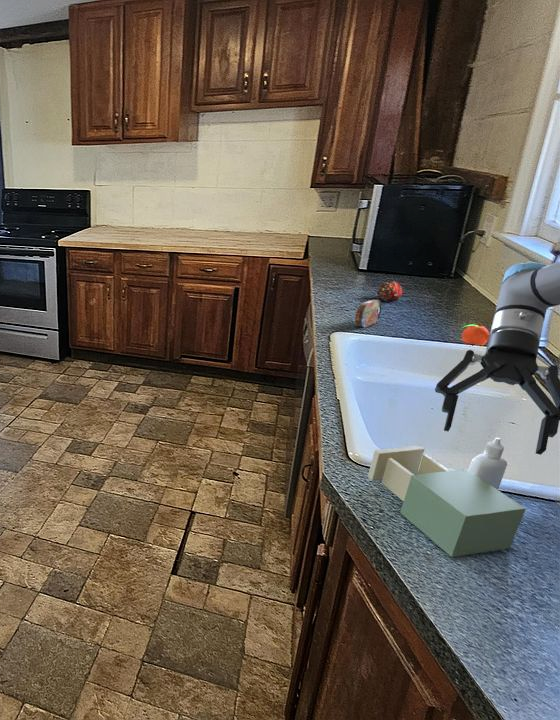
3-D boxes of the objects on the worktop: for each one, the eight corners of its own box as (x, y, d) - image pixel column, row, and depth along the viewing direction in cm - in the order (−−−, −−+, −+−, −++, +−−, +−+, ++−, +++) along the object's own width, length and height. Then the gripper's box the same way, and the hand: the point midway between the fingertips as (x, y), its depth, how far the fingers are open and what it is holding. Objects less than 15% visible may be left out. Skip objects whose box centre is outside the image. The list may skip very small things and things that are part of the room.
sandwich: (360, 329, 180) (365, 306, 177) (351, 327, 183) (356, 304, 179) (379, 321, 189) (384, 298, 186) (370, 319, 192) (375, 296, 188)
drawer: (363, 473, 100) (370, 446, 97) (407, 468, 101) (414, 442, 99) (405, 509, 90) (414, 480, 88) (453, 503, 92) (463, 474, 89)
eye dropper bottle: (455, 485, 98) (474, 429, 93) (491, 492, 96) (512, 435, 91) (462, 499, 94) (482, 441, 89) (499, 506, 92) (522, 447, 88)
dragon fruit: (381, 306, 212) (386, 304, 221) (403, 297, 207) (408, 296, 216) (371, 287, 213) (378, 286, 222) (394, 278, 208) (399, 277, 217)
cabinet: (400, 512, 90) (411, 475, 88) (453, 505, 92) (466, 468, 89) (451, 557, 81) (466, 516, 78) (509, 548, 83) (526, 508, 80)
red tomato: (456, 347, 166) (462, 325, 163) (454, 340, 171) (460, 319, 169) (486, 351, 162) (494, 330, 160) (484, 345, 168) (491, 323, 165)
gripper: (440, 316, 104) (414, 413, 98) (610, 342, 91) (592, 456, 85) (434, 334, 110) (409, 426, 104) (593, 361, 97) (575, 468, 91)
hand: (492, 440), depth 95 cm, fingers open, 13 cm apart
